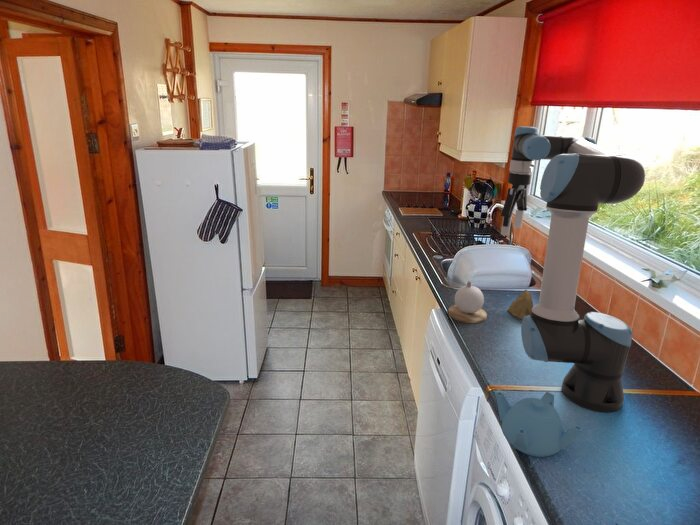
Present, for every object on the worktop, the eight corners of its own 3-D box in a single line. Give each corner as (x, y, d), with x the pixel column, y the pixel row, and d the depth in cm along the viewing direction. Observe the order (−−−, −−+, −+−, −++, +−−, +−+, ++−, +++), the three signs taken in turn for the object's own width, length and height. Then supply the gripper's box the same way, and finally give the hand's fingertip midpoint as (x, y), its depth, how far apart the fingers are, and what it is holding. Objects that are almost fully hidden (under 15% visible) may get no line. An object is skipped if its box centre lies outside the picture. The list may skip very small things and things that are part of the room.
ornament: (448, 308, 176) (451, 279, 172) (468, 304, 180) (472, 275, 176) (465, 319, 167) (469, 289, 163) (487, 314, 172) (491, 285, 168)
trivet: (477, 326, 165) (477, 323, 165) (441, 315, 173) (442, 312, 173) (492, 314, 176) (492, 310, 175) (458, 303, 184) (458, 300, 183)
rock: (541, 319, 167) (538, 305, 176) (530, 301, 165) (527, 287, 174) (514, 331, 172) (512, 316, 181) (502, 313, 170) (501, 299, 179)
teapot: (578, 463, 104) (588, 424, 100) (513, 464, 103) (521, 424, 99) (547, 419, 118) (555, 383, 114) (489, 419, 117) (495, 383, 113)
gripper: (519, 177, 150) (509, 240, 157) (541, 170, 169) (532, 226, 176) (497, 175, 154) (488, 236, 161) (520, 168, 173) (512, 223, 180)
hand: (511, 231), depth 169 cm, fingers open, 13 cm apart
